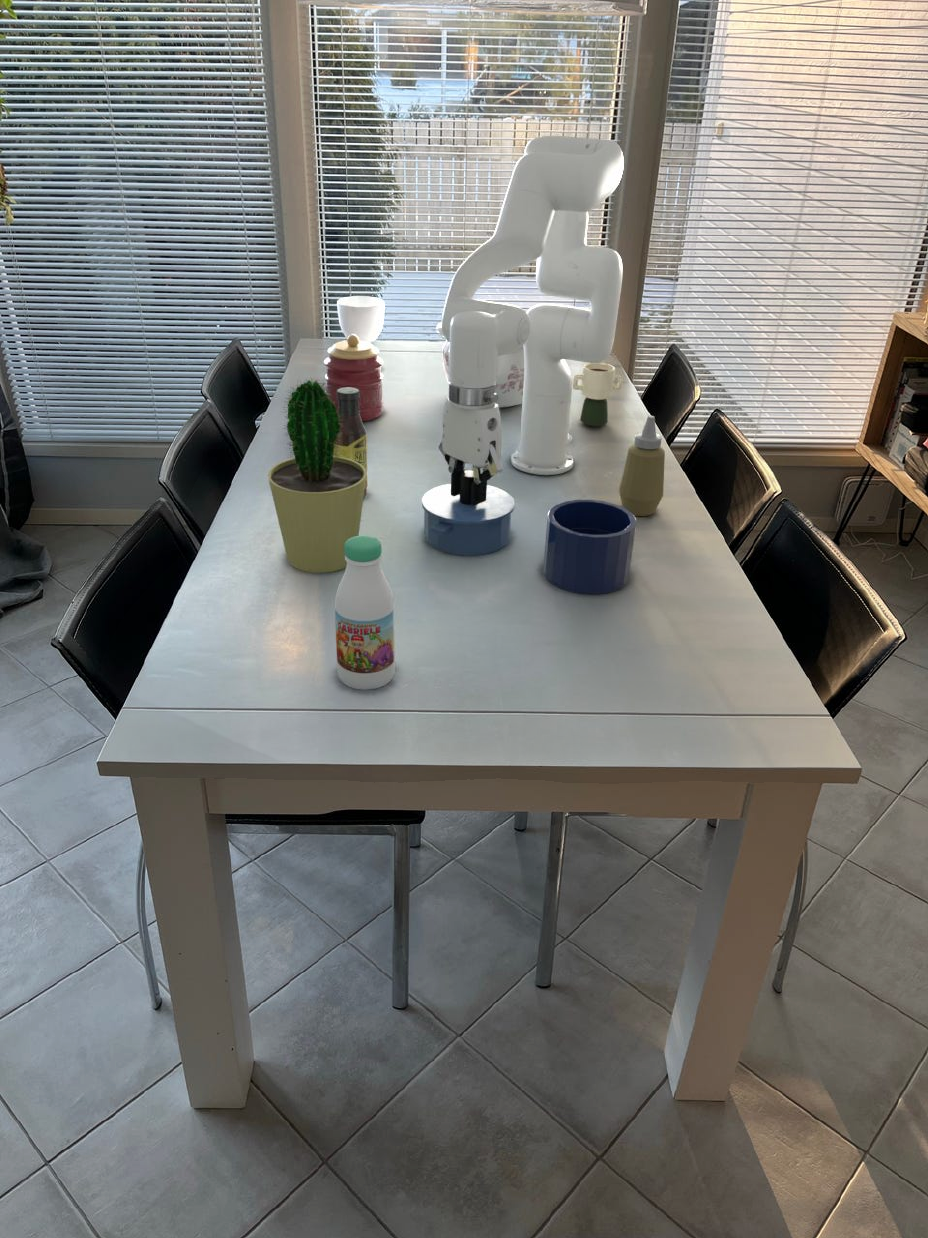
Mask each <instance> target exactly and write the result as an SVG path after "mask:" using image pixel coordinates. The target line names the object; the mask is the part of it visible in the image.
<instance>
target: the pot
mask: <svg viewBox="0 0 928 1238" xmlns="http://www.w3.org/2000/svg"><path fill="white" fill-rule="evenodd" d="M636 526H637V518H636V516H635V515H633V514H632V513H631V512H629V511H628V510H627V509H625V508H623V507H622V505H618V504H616V503H612V502H608V501H603V500H597V499H572V500H566V501H563V502H560V503H558V504H555V505H553V506H552V507H551V508H550V509H549V511H548V513H547V517H546V531H545V542H544V553H543V567H542V568H543V574H544V577H545V578H546V579H547V581H548V582H549V583H550V584H552V585H554V586H555V587H557V588H559V589H561V590H564V591H568V592H571V593H575V594H582V595H604V594H609V593H613V592H617V591H618V590H621V589H622V588H624V587H625V586H626V585H627V583H628V582H629V578H630V573H631V565H632V558H633V549H634V541H635V534H636Z"/></svg>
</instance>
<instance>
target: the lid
mask: <svg viewBox="0 0 928 1238" xmlns="http://www.w3.org/2000/svg"><path fill="white" fill-rule="evenodd" d="M465 470H466V471H462V472H461V473H460V494H459V495H456V496H452V495H451V483H447V484H442V485H439V486H435V487H433V488H432V489H431V488H430V489H429V490H428V491H427V492H425V493H424V494H423V496H422V497H421V506H422V508H423V510H425V511H426V512H427V513H428V514H429V515H431V516H433V517H435V518H437V519H440V520H443V521H447V522H451V523H457V524H485V523H491V522H495V521H498V520H501V519H504V518H506V517H507V516H509V515H510V514H511V515H512V513H513V512H514V510H515V504H516V503H515V499H514V497H513V496H512V495H511V494H509V492H507V491H505V490H503V489H501V488H500V487H496V486H493V485H490V484H489V485H488V484H487V497H486V501H485V502H482V503H479V504H477V505H472V504H471V484H472V483H473V482H474V475H473V470H470V469H469V470H468V469H465Z"/></svg>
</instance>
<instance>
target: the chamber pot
mask: <svg viewBox="0 0 928 1238" xmlns="http://www.w3.org/2000/svg"><path fill="white" fill-rule="evenodd" d="M435 331H436V332H437V333H438V334H439V335H440V336H441V337H442V338H443V339H445V341H444V343H443V345H442V351H441V353H442V354H441V355H442V356H441V357H442V359H441V363H442V368H443V374H444V378H445V380H446V382H447V383H448V384H449V355H450V342H449V341H447V340H446V338H445V337H444V335H443V333H442V328H441V322H439V323H438V324H437V325H436V329H435ZM523 386H524V348H523V346H522V347H521V348H520V349H519V350H517V351H515V352H513V353H509V354H504V355H499V356H497V371H496V392H495V394H497V395H498V400H497V401H496V402H495V403H496V404H498V405H499V409H504V408H505V409H506V408H510V407H515V406H519V405H522V401H523Z"/></svg>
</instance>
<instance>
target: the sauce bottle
mask: <svg viewBox="0 0 928 1238" xmlns="http://www.w3.org/2000/svg"><path fill="white" fill-rule="evenodd" d="M359 398H360V394H359V390H358V389H356V388H352V387H346V388H340V389H338V390H337V399H338V414H340V413H341V414H340V416H341V417H340V416H338V418H339V423H340V424H341V425H340V427H343V426H346V427H343V428H340V430H341V433H340V432H339V433H338V434H337V436H340V437H337V438H336V439H338V438H339V439H338V440H335V441H334V447H336V446H337V445H338V446H337V447H336V448H338V449H335V448H334V451H335V452H334V455H335V454H336V455H337V456H339V457H344V458H348V459H351V460H354V461H356V462H358V463H360V464H361V465H363V466H364V467H365V468H366V471H367V472H368V445H367V444H368V443H367V441H368V440H367V439H368V438H367V431H366V428H365V426H364V423H363V422H364V421H362V420H361V417H360V414H359V413H360V411H359ZM339 410H340V411H339ZM341 419H344V420H341ZM345 420H347V421H345ZM342 423H344V425H342ZM342 432H343V433H342ZM340 434H341V435H340ZM342 442H343V443H342ZM335 444H337V445H335ZM339 445H340V446H339ZM336 450H338V451H336ZM334 455H333V456H334ZM336 455H335V456H336ZM367 487H368V475H367V476H366V480H365V489H364V497H365V496H366V495H367V489H368V488H367Z"/></svg>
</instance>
